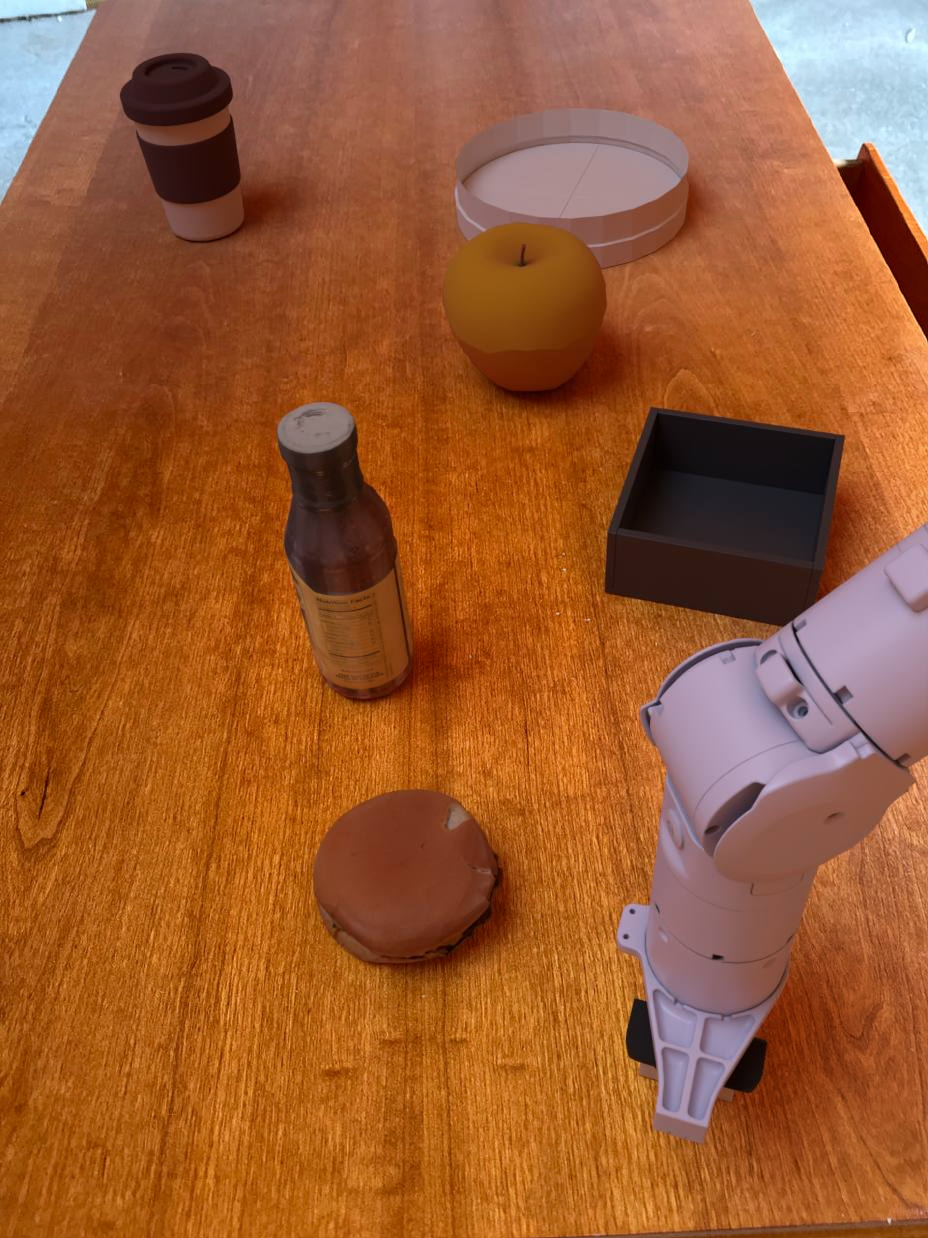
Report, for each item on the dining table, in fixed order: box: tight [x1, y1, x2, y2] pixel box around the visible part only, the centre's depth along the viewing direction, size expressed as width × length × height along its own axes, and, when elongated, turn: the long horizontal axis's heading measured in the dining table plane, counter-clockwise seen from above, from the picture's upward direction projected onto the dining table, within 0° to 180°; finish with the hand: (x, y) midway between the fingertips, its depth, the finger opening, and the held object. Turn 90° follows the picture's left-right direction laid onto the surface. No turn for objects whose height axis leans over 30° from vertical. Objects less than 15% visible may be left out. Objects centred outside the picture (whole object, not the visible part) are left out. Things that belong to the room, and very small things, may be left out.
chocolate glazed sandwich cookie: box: [312, 788, 504, 964], centre depth 60 cm, size 10×9×5 cm
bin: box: [604, 406, 846, 627], centre depth 76 cm, size 13×13×6 cm
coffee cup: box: [119, 52, 245, 242], centre depth 106 cm, size 10×10×15 cm
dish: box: [454, 107, 690, 270], centre depth 108 cm, size 22×22×5 cm
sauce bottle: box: [276, 401, 414, 700], centre depth 65 cm, size 6×6×20 cm
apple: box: [440, 222, 608, 392], centre depth 88 cm, size 13×13×11 cm
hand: (694, 1036), depth 54 cm, fingers closed on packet, 4 cm apart
